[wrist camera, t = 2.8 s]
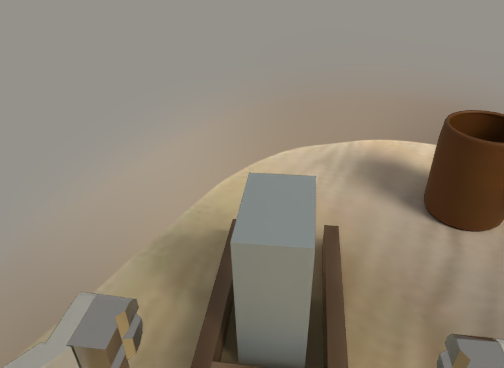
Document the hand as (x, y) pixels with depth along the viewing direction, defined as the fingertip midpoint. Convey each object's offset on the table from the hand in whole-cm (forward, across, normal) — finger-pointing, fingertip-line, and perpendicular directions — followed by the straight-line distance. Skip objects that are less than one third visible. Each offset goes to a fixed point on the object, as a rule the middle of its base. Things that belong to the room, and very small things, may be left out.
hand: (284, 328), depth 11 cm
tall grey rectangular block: (+12, +1, +16) cm, 20 cm away
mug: (+27, -18, +16) cm, 36 cm away
